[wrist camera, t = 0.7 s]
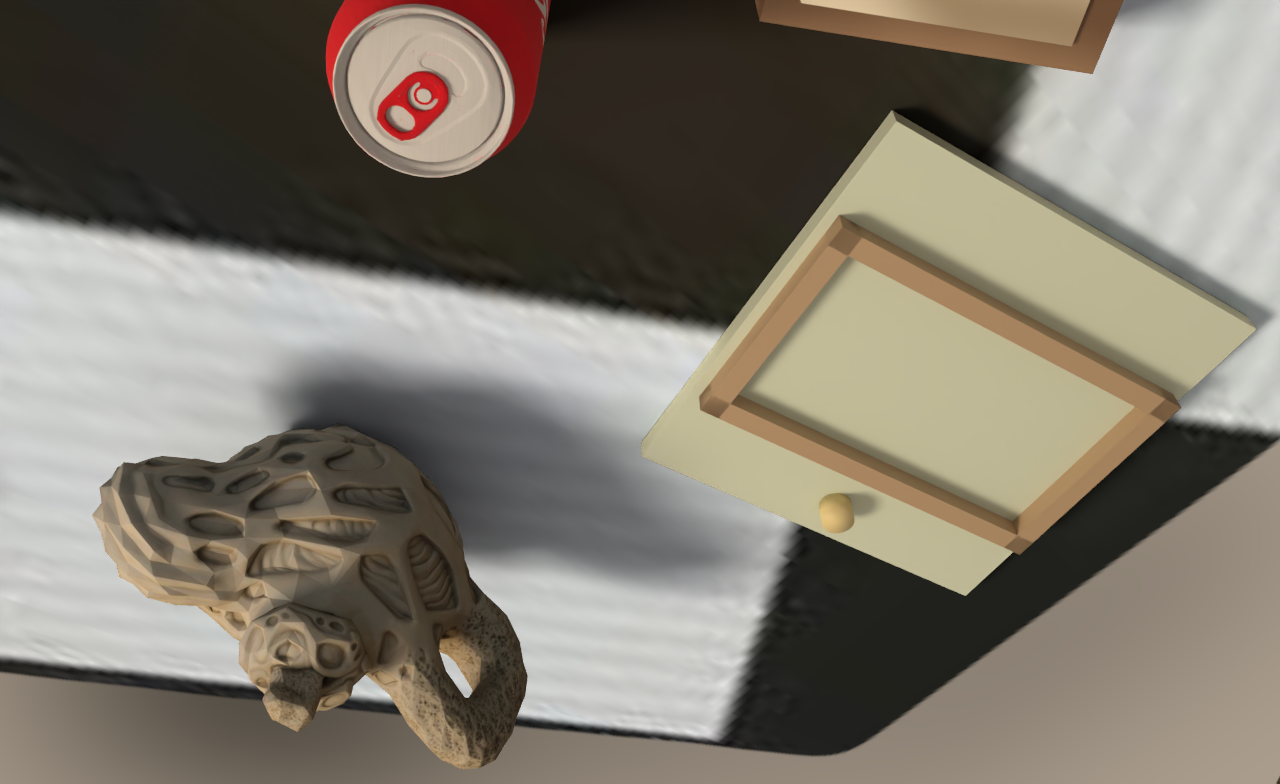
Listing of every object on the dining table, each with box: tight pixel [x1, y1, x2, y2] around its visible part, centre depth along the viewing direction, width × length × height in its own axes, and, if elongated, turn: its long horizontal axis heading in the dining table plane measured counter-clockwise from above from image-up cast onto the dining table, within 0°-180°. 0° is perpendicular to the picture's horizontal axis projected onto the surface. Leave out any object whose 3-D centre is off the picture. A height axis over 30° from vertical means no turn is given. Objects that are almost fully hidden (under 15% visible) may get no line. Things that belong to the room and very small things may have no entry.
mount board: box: [641, 111, 1256, 596], centre depth 54 cm, size 20×20×2 cm
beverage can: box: [326, 0, 551, 177], centre depth 38 cm, size 6×6×12 cm
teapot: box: [92, 423, 527, 769], centre depth 53 cm, size 21×12×15 cm, turn 53°
